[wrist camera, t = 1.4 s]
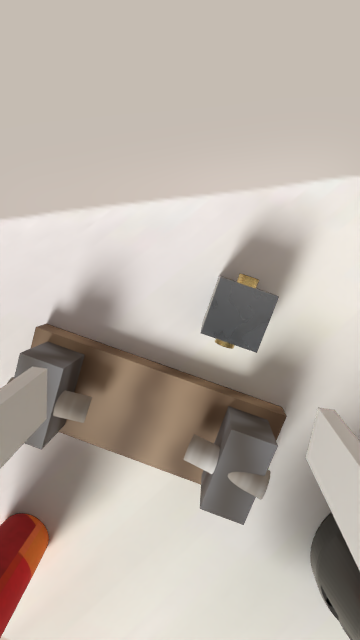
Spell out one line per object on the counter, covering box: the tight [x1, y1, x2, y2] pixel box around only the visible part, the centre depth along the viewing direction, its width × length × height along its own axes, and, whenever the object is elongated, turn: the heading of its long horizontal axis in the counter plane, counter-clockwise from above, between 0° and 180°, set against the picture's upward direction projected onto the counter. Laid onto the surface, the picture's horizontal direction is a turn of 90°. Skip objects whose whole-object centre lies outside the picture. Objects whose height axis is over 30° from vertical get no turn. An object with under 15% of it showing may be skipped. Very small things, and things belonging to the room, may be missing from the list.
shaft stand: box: [7, 324, 287, 525], centre depth 30 cm, size 26×10×7 cm, turn 71°
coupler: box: [201, 274, 279, 353], centre depth 28 cm, size 7×5×5 cm
